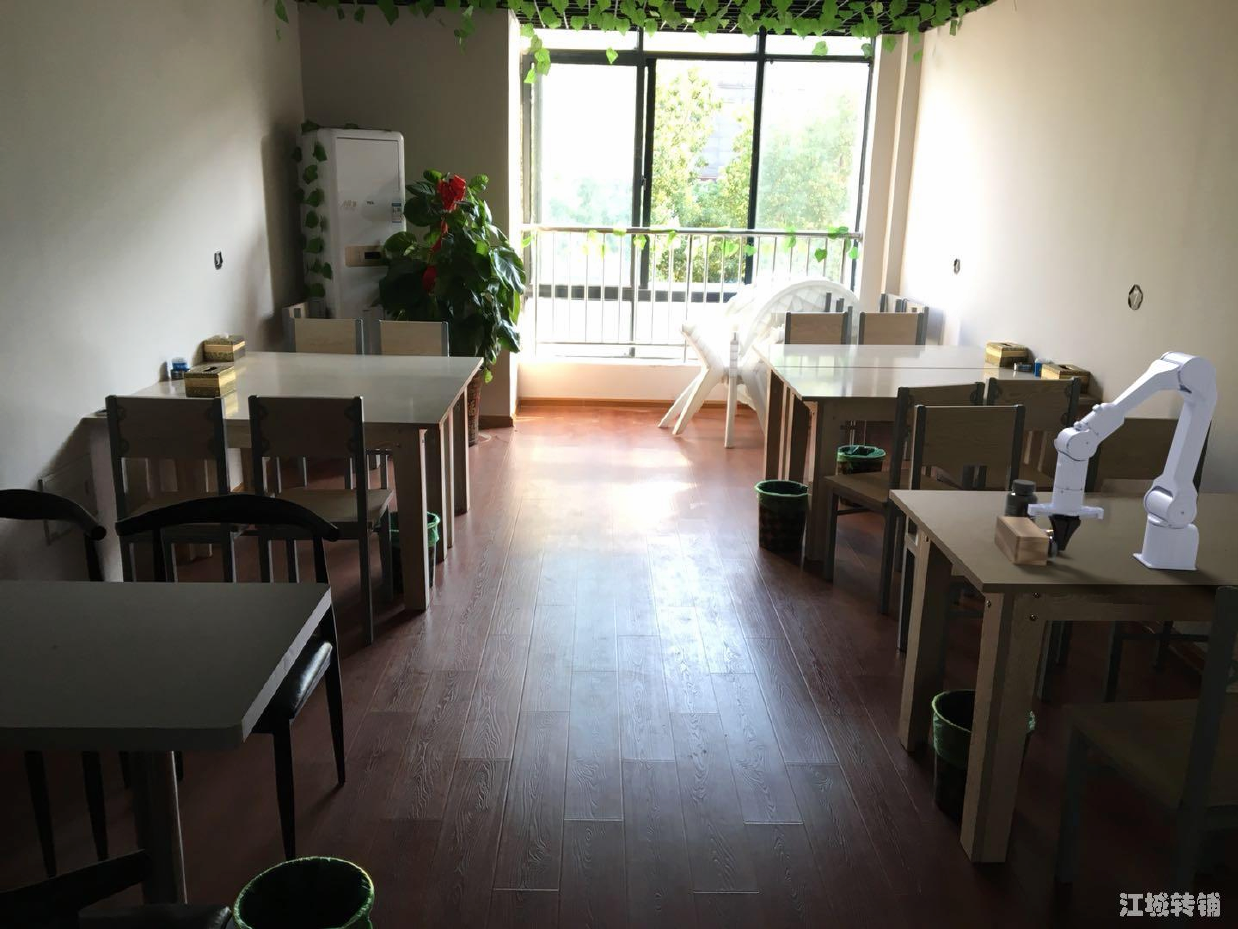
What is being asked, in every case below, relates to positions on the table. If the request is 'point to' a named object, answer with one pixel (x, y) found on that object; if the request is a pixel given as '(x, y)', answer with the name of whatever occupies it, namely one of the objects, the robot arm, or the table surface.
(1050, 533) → the knob far
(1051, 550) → the knob near
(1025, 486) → the supplement bottle
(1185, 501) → the robot arm
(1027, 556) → the catch block
